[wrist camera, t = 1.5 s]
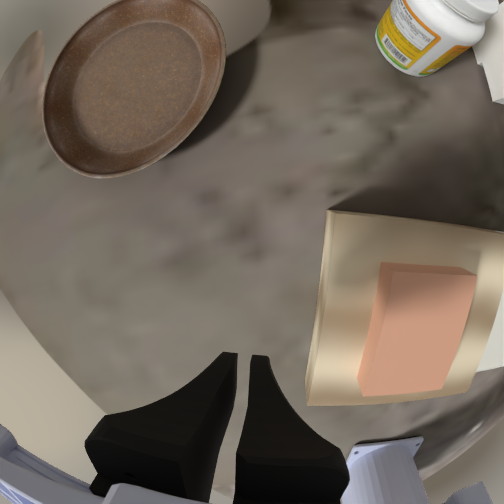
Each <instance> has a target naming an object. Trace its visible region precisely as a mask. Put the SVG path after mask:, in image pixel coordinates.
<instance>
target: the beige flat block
mask: <svg viewBox="0 0 504 504" xmlns="http://www.w3.org/2000/svg"><path fill="white" fill-rule="evenodd" d="M381 262H389V263H404V264H419V265H434V266H449V267H461V268H463V269H465V270H467V271H469V272H471V273H473V274H475V275H477V281H476V286H475V290H474V294H473V298H472V302H471V306H470V310H469V313H468V317H467V320H466V324H465V327H464V330H463V334H462V337H461V340H460V343H459V346H458V349H457V351H456V354H455V357H454V360H453V362H452V365H451V367H450V370H449V373H448V375H447V377H446V380H445V382H444V385H443V387H442V389H439V390H432V391H424V392H415V393H406V394H395V395H381V396H363V395H362V392H361V389H360V387H359V384H358V381H357V375H358V371H359V368H360V364H361V360H362V356H363V352H364V348H365V344H366V339H367V335H368V331H369V326H370V321H371V317H372V312H373V307H374V301H375V296H376V290H377V284H378V278H379V272H380V266H381ZM503 288H504V233H501V232H497V231H493V230H489V229H483V228H477V227H471V226H464V225H458V224H451V223H444V222H437V221H429V220H421V219H413V218H405V217H397V216H388V215H379V214H369V213H360V212H349V211H338V210H327V211H326V224H325V236H324V246H323V257H322V266H321V275H320V284H319V292H318V300H317V307H316V315H315V322H314V329H313V336H312V342H311V348H310V355H309V361H308V366H307V372H306V378H305V386H306V397H307V405H312V406H339V405H367V404H383V403H395V402H405V401H413V400H421V399H429V398H435V397H442V396H448V395H453V394H459V393H464V392H467V391H468V389H469V386H470V384H471V382H472V380H473V377H474V375H475V373H476V370H477V368H478V366H479V363H480V361H481V358H482V356H483V353H484V350H485V348H486V345H487V342H488V339H489V336H490V333H491V330H492V327H493V324H494V321H495V318H496V314H497V311H498V307H499V304H500V300H501V296H502V292H503Z"/></svg>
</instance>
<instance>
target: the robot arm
mask: <svg viewBox="0 0 504 504" xmlns="http://www.w3.org/2000/svg"><path fill="white" fill-rule="evenodd" d="M237 357H238V353H230V352H222V353H221V354H220V355H219V356H218V357H217V358H216V359H215V360H214V361H213V362H212V363H211V364H210V365H209V366H208V367H207V368H206V369H205V370H204V371H203V372H202V373H200V374H199V375H198V376H197V377H196V378H194V379H193V380H192V381H190V382H189V383H188V384H186V385H185V386H184V387H182V388H181V389H179V390H178V391H176V392H174V393H173V394H171V395H169V396H167V397H165V398H163V399H160V400H158V401H156V402H154V403H151V404H149V405H146V406H143V407H140V408H137V409H133V410H130V411H126V412H121V413H116V414H111V415H105V416H104V417H103V418H102V419H101V420H100V421H99V423H98V424H97V425H96V427H95V428H94V429H93V431H92V432H91V433H90V435H89V436H88V438H87V439H86V440H85V449H86V452H87V454H88V456H89V458H90V460H91V462H92V463H93V465H94V467H95V469H96V471H97V473H98V474H97V476H96V477H95V479H94V480H93V482H92V484H91V485H90V484H88V483H86V482H83V481H81V480H79V479H77V478H75V477H73V476H71V475H69V474H67V473H65V472H63V471H61V470H59V469H57V468H55V467H54V466H52V465H50V464H48V463H47V462H45V461H43V460H41V459H40V458H38V457H37V456H35V455H33V454H32V453H30V452H28V451H27V450H25V449H24V448H22V447H21V446H19V445H18V443H17V441H16V439H15V438H14V436H13V435H12V434H11V432H10V431H9V430H7V428H5V427H4V426H2V425H1V424H0V493H1V494H2V495H3V496H5V497H6V498H7V499H8V500H9V501H11V502H12V503H13V504H210V503H209V499H210V493H211V488H212V483H213V478H214V473H215V468H216V463H217V459H218V454H219V451H220V447H221V444H222V441H223V438H224V435H225V432H226V429H227V426H228V423H229V420H230V417H231V414H232V411H233V407H234V401H235V396H236V389H237ZM423 440H424V439H423V437H422V436H420V437H414V438H408V439H402V440H395V441H387V442H378V443H368V444H358V445H355V446H354V447H353V448H352V450H351V453H350V455H349V457H348V459H347V461H345V459H344V456H343V454H342V452H341V450H340V449H339V448H338V447H336V446H335V445H333V444H332V443H330V442H328V441H327V440H325V439H324V438H322V437H321V436H320V435H318V434H317V433H316V432H315V431H314V430H313V429H312V428H310V427H309V426H308V425H307V424H306V423H305V422H304V421H303V420H302V419H301V418H300V416H299V415H298V414H297V413H296V412H295V410H294V409H293V408H292V406H291V405H290V404H289V402H288V401H287V399H286V398H285V396H284V394H283V393H282V391H281V389H280V387H279V385H278V383H277V381H276V379H275V377H274V374H273V371H272V369H271V365H270V360H269V357H268V356H262V355H252V358H251V362H250V378H249V395H248V407H247V412H246V417H245V421H244V425H243V430H242V434H241V437H240V441H239V445H238V448H237V451H236V476H235V494H234V500H233V504H340V498H341V497H342V503H343V504H430V503H429V500H428V498H427V494H426V491H425V489H424V486H423V483H422V480H421V478H420V475H419V472H418V470H417V467H416V464H415V462H414V459H413V457H414V455H415V454H416V452H417V450H418V449H419V447H420V445H421V444H422V442H423ZM443 504H493V502H492V500H491V498H490V496H489V494H488V492H487V490H486V488H485V486H484V484H483V482H482V481H480V482H477V483H475V484H473V485H470V486H468V487H465V488H462V489H460V490H458V491H456V492H455V493H453V494H452V495H451V496H450V497H449V498H448V499H447V501H446V502H445V503H443Z"/></svg>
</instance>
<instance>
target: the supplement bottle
mask: <svg viewBox="0 0 504 504" xmlns="http://www.w3.org/2000/svg"><path fill="white" fill-rule="evenodd" d="M498 10H499V2H498V0H393V1H392V2H391V4H390V6H389V7H388V9H387V11H386V12H385V14H384V16H383V17H382V19H381V21H380V22H379V24H378V26H377V29H376V34H375V37H376V42H377V45H378V47H379V49H380V51H381V53H382V54H383V56H384V57H385V58H386V59H387V60H388V61H389V62H390V63H391V64H392V65H393V66H394V67H396V68H397V69H398V70H400V71H402V72H404V73H406V74H409V75H412V76H419V77H422V76H428V75H431V74H432V73H434V72H436V71H437V70H438V69H440V68H441V67H443V66H444V65H445V64H447V63H448V62H450V61H451V60H453V59H454V58H455V57H457V56H458V55H460V54H461V53H463V52H464V51H466V50H467V49H469V48H470V47H472V46H473V45H475V44H476V43H477V42H478V41H480V40H481V39H482V37H483V36H484V33H485V21H487V20H489V19H490V18H491V17H492V16H493V15H495V14H496V13H497V12H498Z"/></svg>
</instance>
